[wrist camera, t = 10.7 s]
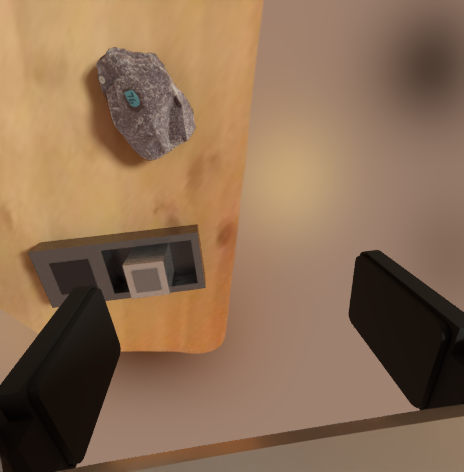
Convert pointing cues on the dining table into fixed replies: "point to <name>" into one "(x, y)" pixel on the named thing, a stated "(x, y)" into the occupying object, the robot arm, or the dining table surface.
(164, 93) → the rock
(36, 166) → the dining table surface
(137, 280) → the gray cube
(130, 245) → the grey tray with recess
